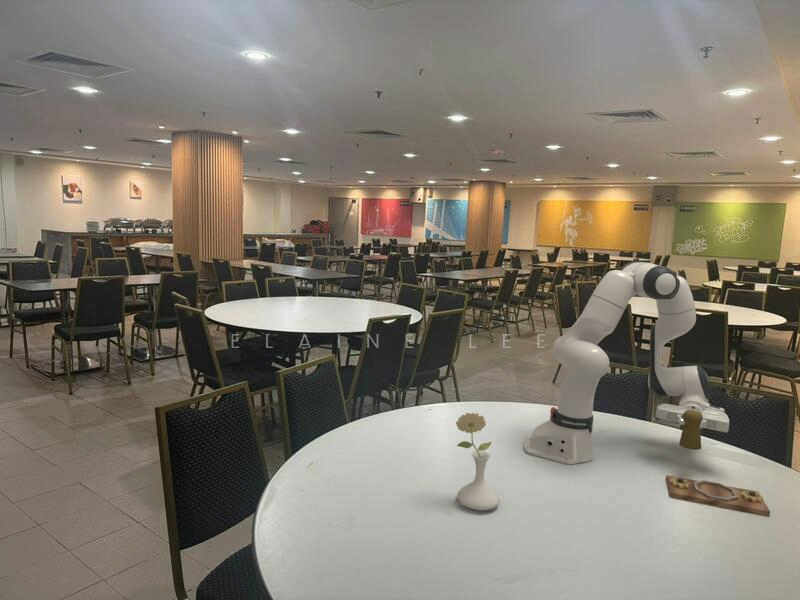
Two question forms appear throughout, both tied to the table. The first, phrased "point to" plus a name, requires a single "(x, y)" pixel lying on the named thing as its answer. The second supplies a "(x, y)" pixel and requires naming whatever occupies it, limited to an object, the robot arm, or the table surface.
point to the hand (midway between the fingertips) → (690, 424)
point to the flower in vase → (477, 491)
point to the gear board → (717, 495)
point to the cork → (691, 430)
